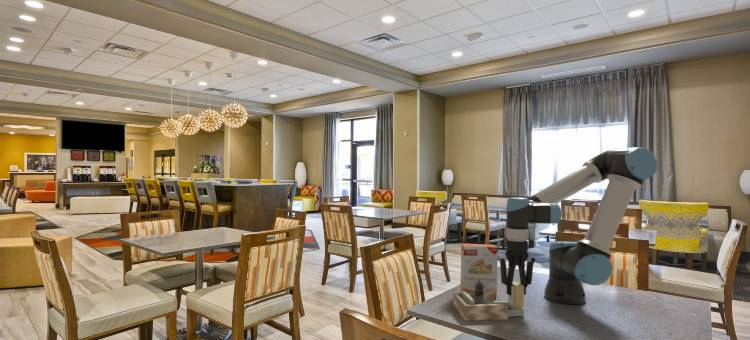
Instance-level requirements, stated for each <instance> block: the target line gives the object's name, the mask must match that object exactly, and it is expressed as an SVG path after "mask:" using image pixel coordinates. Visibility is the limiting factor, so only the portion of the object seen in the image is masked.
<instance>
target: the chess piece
mask: <svg viewBox="0 0 750 340" xmlns="http://www.w3.org/2000/svg"><path fill="white" fill-rule="evenodd" d="M474 293H475V299H474V300H475V305H477V304H487V303H486V302H484V299H483V294H484V292H483V284H482V283H481V282H480V280H479V282H477V283H476V284H475V292H474Z"/></svg>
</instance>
